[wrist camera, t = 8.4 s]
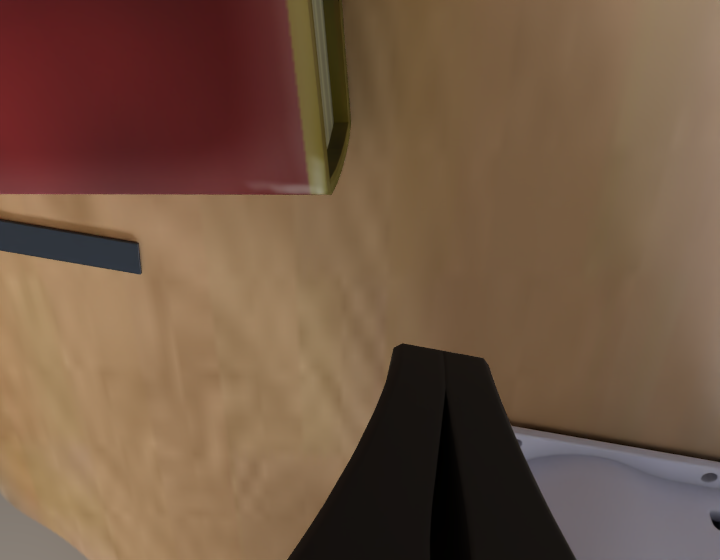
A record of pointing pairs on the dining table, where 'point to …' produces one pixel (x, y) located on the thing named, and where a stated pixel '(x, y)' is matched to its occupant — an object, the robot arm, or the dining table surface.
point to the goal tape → (70, 246)
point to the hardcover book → (172, 97)
